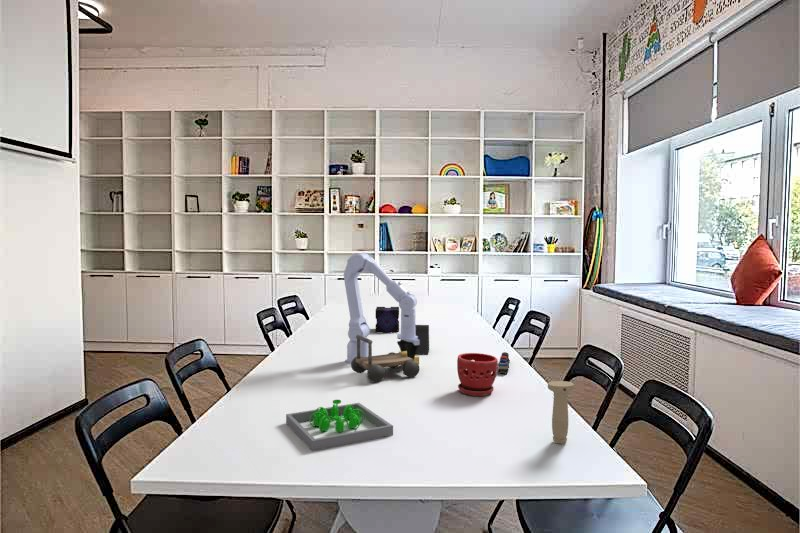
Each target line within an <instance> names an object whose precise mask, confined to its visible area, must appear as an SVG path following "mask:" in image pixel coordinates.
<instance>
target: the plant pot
mask: <svg viewBox="0 0 800 533" xmlns="http://www.w3.org/2000/svg"><path fill="white" fill-rule="evenodd" d="M498 360H499V359H498V358H497V357H496V356H493V355H490V354H487V353H479V352H478V353H477V352H467V353H466V352H465V353H461V354H458V355H457V359H456V362H457V363H456V364H457V367H456V369H457V376H458V379H459V384H457V388H458V390H459V391H460V392H461V393H462V394H465V395H468V396H473V397H480V396H481V397H482V396H488V395H490V394H491V393H493V391H494V388H495V387H494V386H493V384H494V382H495V380H496V378H497V372H498V366H499V363H498V362H499V361H498Z"/></svg>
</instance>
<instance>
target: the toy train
mask: <svg viewBox="0 0 800 533" xmlns="http://www.w3.org/2000/svg"><path fill="white" fill-rule="evenodd" d="M509 357H510V356H509V352H506V351H505V352H502V353H501V355H500V357H499V363H498V365H497V372H498V374H499V375H500V374H506V375H508V373H509V370H510V369H509V368H510V364H511V360H510V358H509Z"/></svg>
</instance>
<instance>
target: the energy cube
mask: <svg viewBox="0 0 800 533" xmlns="http://www.w3.org/2000/svg"><path fill="white" fill-rule="evenodd" d="M399 319H400V306H390V307H385V306H376V308H375V320H376V324H375V333H376V332H384V333H390V332H400V320H399Z"/></svg>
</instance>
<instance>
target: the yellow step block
mask: <svg viewBox="0 0 800 533" xmlns="http://www.w3.org/2000/svg"><path fill="white" fill-rule="evenodd" d="M398 353H400V354H402V355H405V356H407V351H401V350H400V351H398ZM414 361H415V362H417V363H418V365H419V366H420V356H418V355H417V354H415V358H414Z"/></svg>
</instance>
